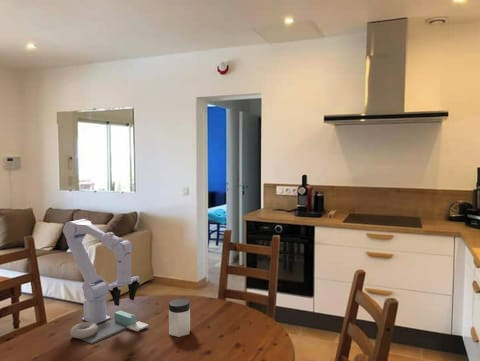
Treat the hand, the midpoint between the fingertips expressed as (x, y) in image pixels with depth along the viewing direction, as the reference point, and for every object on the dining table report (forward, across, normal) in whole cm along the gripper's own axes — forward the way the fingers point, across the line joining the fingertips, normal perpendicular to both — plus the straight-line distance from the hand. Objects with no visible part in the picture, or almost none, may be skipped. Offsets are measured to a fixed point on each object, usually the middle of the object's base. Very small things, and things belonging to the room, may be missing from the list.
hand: (124, 302), depth 163 cm
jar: (+9, +8, -24) cm, 27 cm away
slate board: (+9, -8, +1) cm, 12 cm away
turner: (+8, 0, -3) cm, 9 cm away
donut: (+7, -16, -1) cm, 17 cm away
